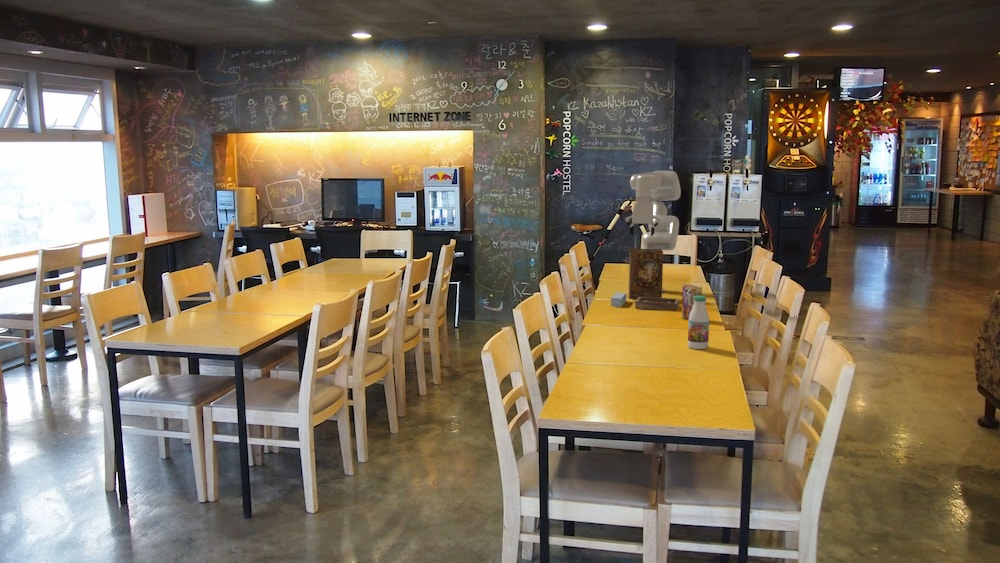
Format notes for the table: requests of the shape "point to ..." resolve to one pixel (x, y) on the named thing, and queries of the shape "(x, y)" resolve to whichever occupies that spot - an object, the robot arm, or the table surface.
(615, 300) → the grey rectangular block
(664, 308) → the frame
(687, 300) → the candy box
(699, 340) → the milk bottle
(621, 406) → the table surface
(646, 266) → the book
